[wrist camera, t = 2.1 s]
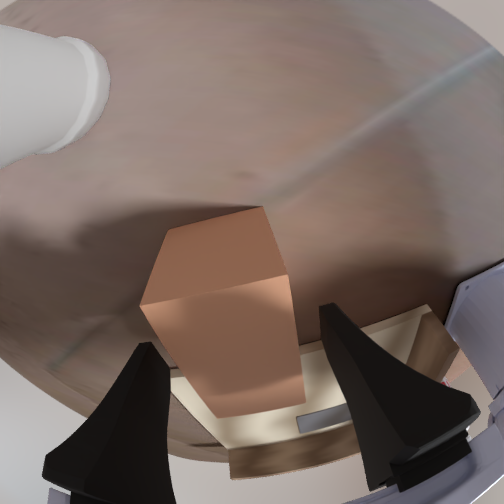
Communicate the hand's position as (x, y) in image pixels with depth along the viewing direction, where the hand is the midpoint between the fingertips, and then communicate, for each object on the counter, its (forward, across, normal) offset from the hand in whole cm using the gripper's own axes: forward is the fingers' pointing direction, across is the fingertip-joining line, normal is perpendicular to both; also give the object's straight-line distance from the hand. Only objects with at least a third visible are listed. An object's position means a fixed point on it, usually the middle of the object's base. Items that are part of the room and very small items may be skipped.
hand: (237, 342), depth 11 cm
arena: (+4, -3, +15) cm, 16 cm away
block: (+4, 0, 0) cm, 4 cm away
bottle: (+4, +5, -12) cm, 14 cm away
